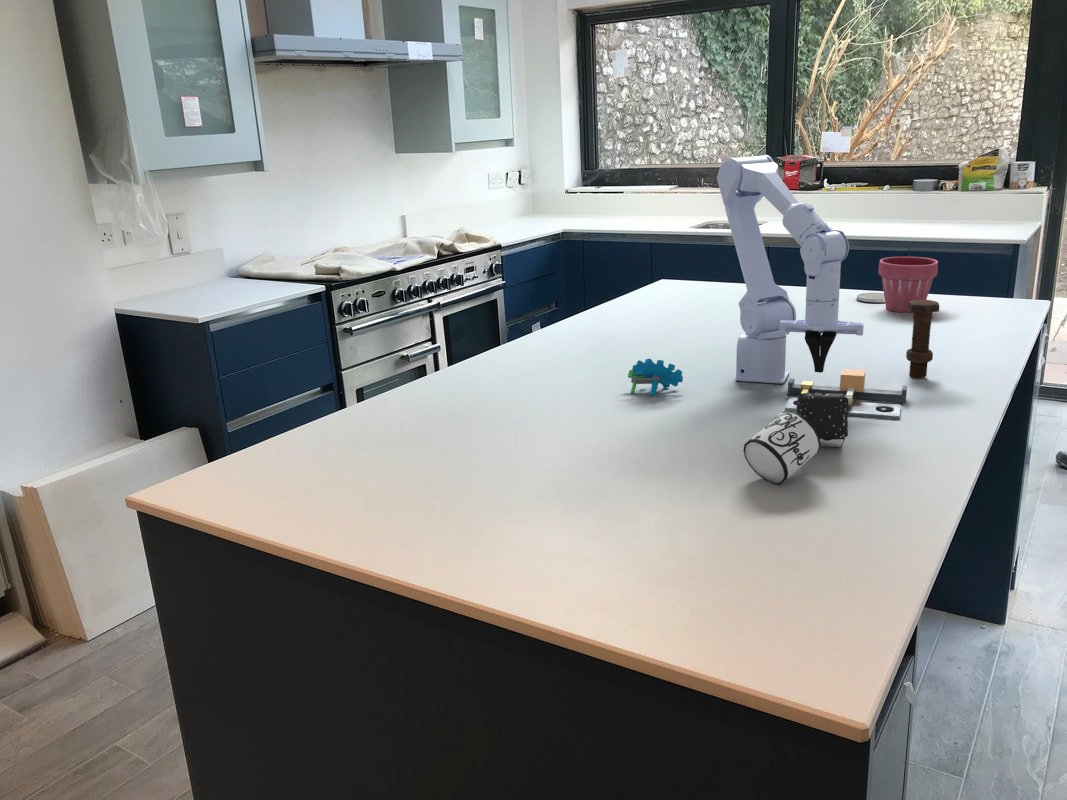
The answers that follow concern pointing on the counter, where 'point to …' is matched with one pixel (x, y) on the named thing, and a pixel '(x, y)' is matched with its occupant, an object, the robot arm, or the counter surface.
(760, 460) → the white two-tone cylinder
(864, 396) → the rail
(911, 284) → the plant pot
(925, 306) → the bolt
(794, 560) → the counter surface
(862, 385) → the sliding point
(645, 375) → the blue stegosaurus toy
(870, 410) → the hole plate
